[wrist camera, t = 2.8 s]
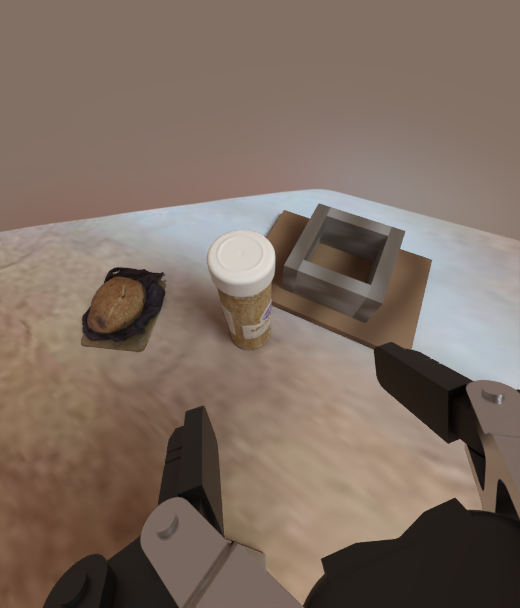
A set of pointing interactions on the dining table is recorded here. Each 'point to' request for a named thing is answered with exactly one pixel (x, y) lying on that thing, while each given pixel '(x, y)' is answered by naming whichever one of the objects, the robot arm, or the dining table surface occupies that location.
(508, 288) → the dining table surface
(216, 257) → the sprinkles bottle
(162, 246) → the dining table surface
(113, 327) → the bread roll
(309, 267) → the collar board
